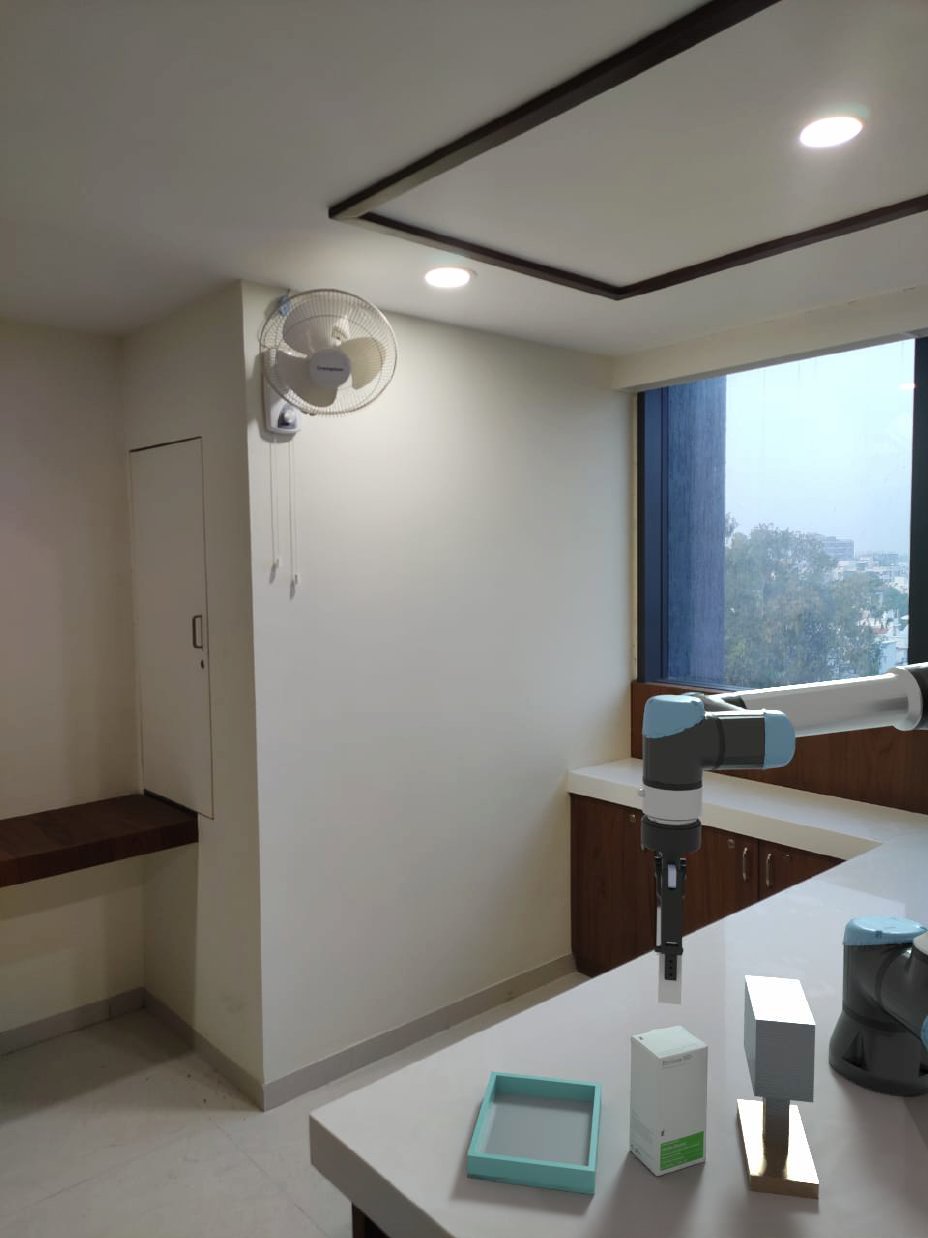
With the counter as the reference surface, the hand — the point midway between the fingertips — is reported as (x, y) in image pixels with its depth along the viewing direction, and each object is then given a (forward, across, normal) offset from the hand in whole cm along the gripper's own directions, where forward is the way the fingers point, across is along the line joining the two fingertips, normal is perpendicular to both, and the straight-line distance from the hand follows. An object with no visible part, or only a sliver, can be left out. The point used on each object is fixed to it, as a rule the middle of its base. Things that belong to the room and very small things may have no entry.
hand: (667, 977), depth 117 cm
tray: (+24, 0, -17) cm, 29 cm away
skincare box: (+24, 0, 0) cm, 24 cm away
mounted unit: (+24, -3, +14) cm, 28 cm away
